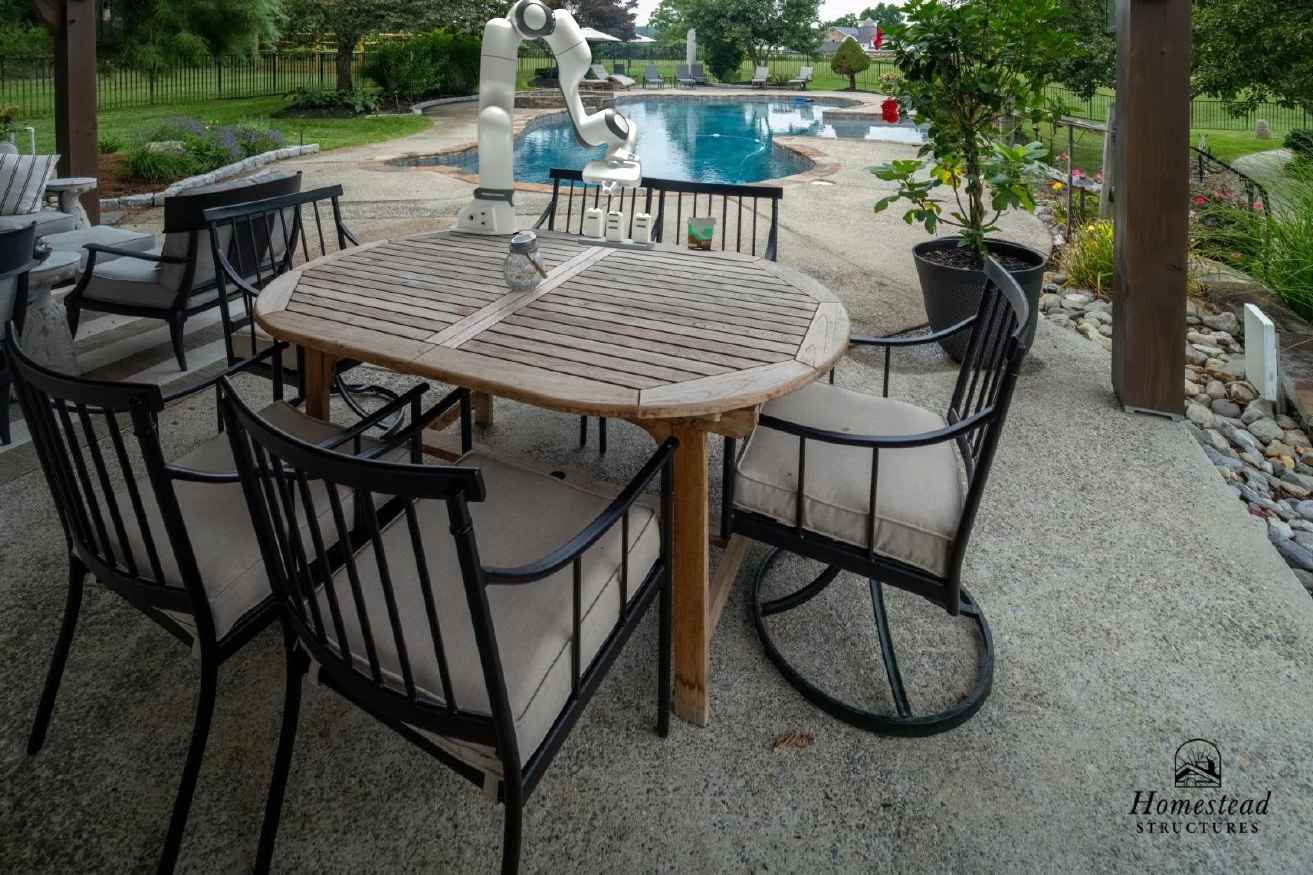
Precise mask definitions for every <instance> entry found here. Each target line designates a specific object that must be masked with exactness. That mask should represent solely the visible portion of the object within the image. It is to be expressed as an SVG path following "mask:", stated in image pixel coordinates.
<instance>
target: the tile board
mask: <svg viewBox="0 0 1313 875" xmlns="http://www.w3.org/2000/svg"><path fill="white" fill-rule="evenodd" d="M577 245H584V246H595V247H605V248H612V249H615V248H616V249H623V250H624V249H625V250H632V251H633V250H634V251H643V252H644V251H647V250H649V249H652V248H653V247H655V241H653V240H650V242H649V243H640V242H633V238H624V237H623V241H610V240H606V236H604V235H602V237H589V236H584V237H580V238H578V239H577Z"/></svg>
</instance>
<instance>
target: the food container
mask: <svg viewBox="0 0 1313 875" xmlns="http://www.w3.org/2000/svg"><path fill="white" fill-rule="evenodd" d="M686 223H687V224H688V225H687V249H688V248H692V249H691V250H695V249H694V248H702V249H708V250H711V248H712V242H713V235H714V229H715V225H717V219H716V217H715V216H713V215H707V217H691V216H688V217H687V222H686Z"/></svg>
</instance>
